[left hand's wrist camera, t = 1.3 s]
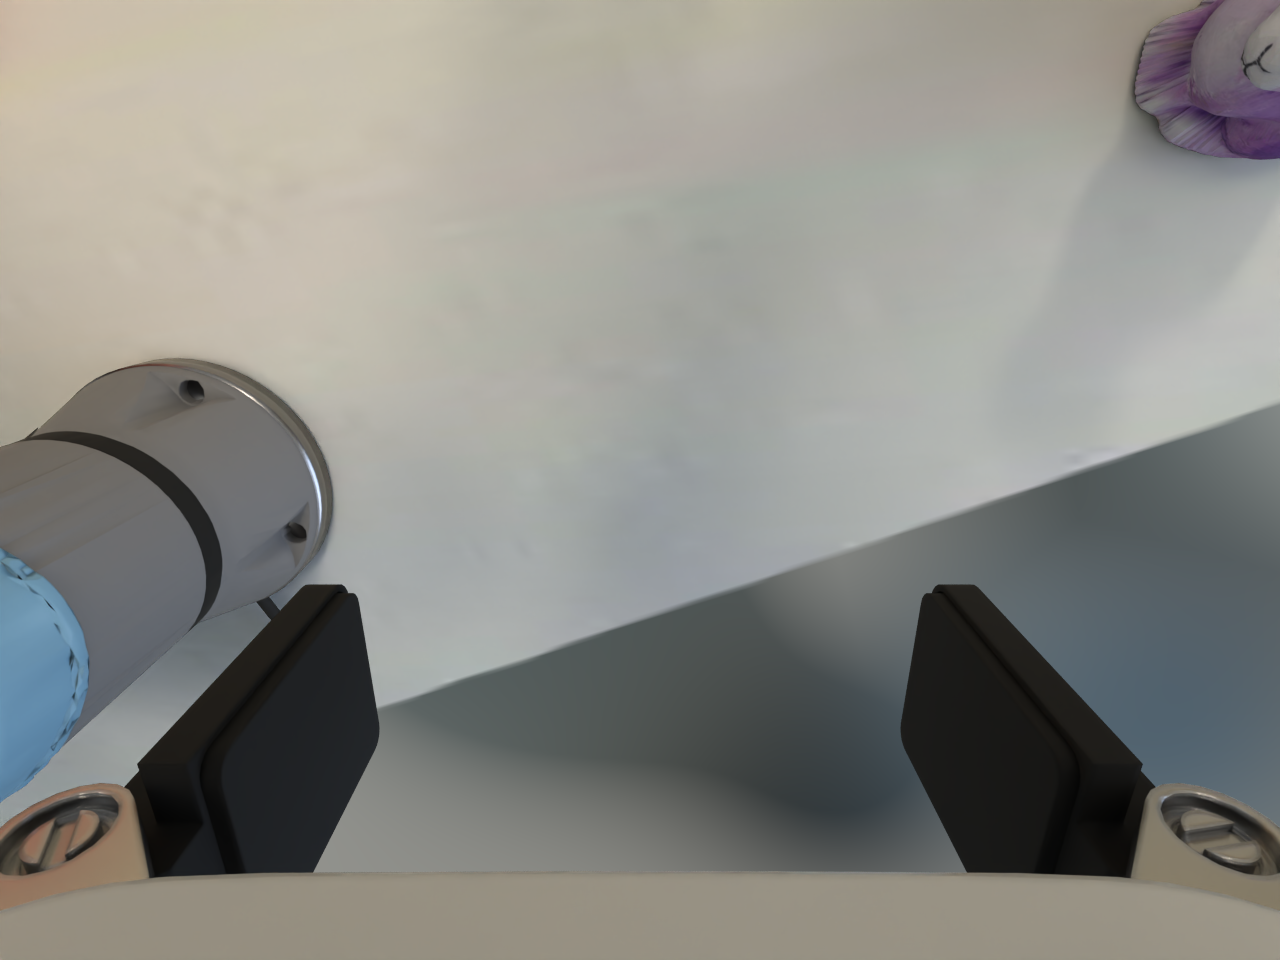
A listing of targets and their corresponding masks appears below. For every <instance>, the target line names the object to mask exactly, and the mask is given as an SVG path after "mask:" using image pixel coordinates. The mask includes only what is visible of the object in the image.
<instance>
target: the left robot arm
mask: <svg viewBox="0 0 1280 960" xmlns="http://www.w3.org/2000/svg"><path fill="white" fill-rule="evenodd" d="M378 738H379V720H378V714H377V708H376V702H375V696H374V690H373V684H372V678H371V673H370V667H369V661H368V655H367V649H366V643H365V637H364V631H363V625H362V619H361V613H360V607H359V602H358V598H357V596H356V595H355V594H354V593H348V591H347V590H346V588H345V586H343V585H305V586H303V587H302V588H301V589H300V590H299V591H298V592H297V593H296V594H295V596H294V597H293V598H292V599H291V600H290V601H289V602H288V603H287V604H286V605H285V606H284V607H283V608H282V609H281V611H280V612H279V613H278V614H277V615H276V616H275V617H274V618H273V619H272V620H271V621H270V622H269V623H268V624H267V626H266V627H265V628H264V629H263V630H262V631H261V632H260V633H259V634H258V635H257V636H256V637H255V638H254V639H253V641H252V642H251V643H250V644H249V645H248V646H247V647H246V648H245V649H244V650H243V651H242V652H241V653H240V654H239V656H238V657H237V658H236V659H235V660H234V661H233V662H232V663H231V664H230V665H229V666H228V667H227V668H226V669H225V671H224V672H223V673H222V674H221V675H220V676H219V677H218V678H217V679H216V680H215V681H214V682H213V683H212V684H211V685H210V687H209V688H208V689H207V690H206V691H205V692H204V693H203V694H202V695H201V696H200V697H199V698H198V699H197V700H196V702H195V703H194V704H193V705H192V706H191V707H190V708H189V709H188V710H187V711H186V712H185V713H184V714H183V715H182V717H181V718H180V719H179V720H178V721H177V722H176V723H175V724H174V725H173V726H172V727H171V728H170V729H169V730H168V732H167V733H166V734H165V735H164V736H163V737H162V738H161V739H160V740H159V741H158V742H157V743H156V744H155V745H154V747H153V748H152V749H151V750H150V751H149V752H148V753H147V754H146V755H145V756H144V757H143V758H142V759H141V760H140V762H139V763H138V764H137V765H138V768H139V772H138V773H137V774H136V775H135V776H134V777H133V778H132V779H131V780H130V781H129V783H128V784H127V785H126V786H125V787H122V786H120V785H118V784H105V783H99V784H92V785H85V786H79V787H76V788H73V789H70V790H67V791H64V792H61V793H57V794H55V795H53V796H51V797H49V798H46V799H44V800H42V801H40V802H38V803H36V804H34V805H32V806H30V807H29V808H27V809H26V810H24V811H22V812H21V813H19V814H18V815H16V816H15V817H13V818H11V819H10V820H9V821H8V822H6V823H5V824H4V825H3V826H2V827H1V828H0V960H1280V828H1279V827H1278V826H1277V825H1276V824H1275V823H1274V822H1272V821H1271V820H1270V819H1269V818H1267V817H1265V816H1264V815H1262V814H1261V813H1259V812H1258V811H1256V810H1254V809H1253V808H1251V807H1250V806H1248V805H1246V804H1244V803H1242V802H1240V801H1238V800H1236V799H1233V798H1231V797H1229V796H1227V795H1225V794H1223V793H1219V792H1216V791H1213V790H1210V789H1207V788H1204V787H1201V786H1195V785H1188V784H1181V783H1175V784H1162V785H1160V786H1158V787H1155V786H1154V785H1153V784H1152V783H1151V781H1150V780H1149V779H1148V778H1147V777H1146V776H1145V775H1144V774H1143V773H1142V772H1141V768H1142V765H1143V764H1142V763H1141V762H1140V760H1139V759H1138V758H1137V757H1136V756H1135V755H1134V754H1133V753H1132V752H1131V751H1130V750H1129V749H1128V748H1127V747H1126V745H1125V744H1124V743H1123V742H1122V741H1121V740H1120V739H1119V738H1118V737H1117V736H1116V735H1115V734H1114V733H1113V732H1112V730H1111V729H1110V728H1109V727H1108V726H1107V725H1106V724H1105V723H1104V722H1103V721H1102V720H1101V719H1100V718H1099V717H1098V715H1097V714H1096V713H1095V712H1094V711H1093V710H1092V709H1091V708H1090V707H1089V706H1088V705H1087V704H1086V703H1085V702H1084V700H1083V699H1082V698H1081V697H1080V696H1079V695H1078V694H1077V693H1076V692H1075V691H1074V690H1073V689H1072V688H1071V687H1070V686H1069V684H1068V683H1067V682H1066V681H1065V680H1064V679H1063V678H1062V677H1061V676H1060V675H1059V674H1058V673H1057V672H1056V671H1055V669H1054V668H1053V667H1052V666H1051V665H1050V664H1049V663H1048V662H1047V661H1046V660H1045V659H1044V658H1043V657H1042V656H1041V654H1040V653H1039V652H1038V651H1037V650H1036V649H1035V648H1034V647H1033V646H1032V645H1031V644H1030V643H1029V642H1028V641H1027V639H1026V638H1025V637H1024V636H1023V635H1022V634H1021V633H1020V632H1019V631H1018V630H1017V629H1016V628H1015V627H1014V626H1013V624H1012V623H1011V622H1010V621H1009V620H1008V619H1007V618H1006V617H1005V616H1004V615H1003V614H1002V613H1001V612H1000V611H999V609H998V608H997V607H996V606H995V605H994V604H993V603H992V602H991V601H990V600H989V599H988V598H987V597H986V596H985V594H984V593H983V592H982V591H981V590H980V589H979V588H978V587H977V586H975V585H937V586H935V588H934V590H933V591H932V593H926V594H925V595H924V596H923V598H922V602H921V607H920V613H919V619H918V625H917V631H916V637H915V643H914V649H913V655H912V661H911V667H910V672H909V679H908V684H907V690H906V696H905V702H904V708H903V714H902V720H901V738H902V743H903V746H904V749H905V751H906V753H907V755H908V757H909V759H910V761H911V763H912V765H913V767H914V769H915V771H916V772H917V775H918V776H919V778H920V780H921V782H922V784H923V786H924V788H925V790H926V792H927V794H928V796H929V798H930V800H931V802H932V804H933V806H934V808H935V810H936V812H937V814H938V816H939V818H940V820H941V822H942V824H943V826H944V828H945V830H946V832H947V834H948V836H949V838H950V840H951V842H952V844H953V846H954V848H955V850H956V852H957V854H958V856H959V858H960V860H961V862H962V863H963V865H964V867H965V869H966V871H967V873H931V872H768V871H767V872H765V871H514V872H513V871H512V872H348V873H313V871H314V869H315V867H316V866H317V864H318V862H319V860H320V858H321V856H322V854H323V852H324V850H325V848H326V846H327V844H328V842H329V840H330V838H331V836H332V834H333V832H334V830H335V828H336V826H337V824H338V822H339V820H340V818H341V816H342V814H343V812H344V810H345V808H346V806H347V804H348V802H349V800H350V798H351V796H352V794H353V792H354V790H355V788H356V786H357V784H358V782H359V780H360V778H361V776H362V775H363V773H364V771H365V768H366V767H367V765H368V763H369V761H370V759H371V757H372V755H373V753H374V751H375V748H376V746H377V743H378Z"/></svg>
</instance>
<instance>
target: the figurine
mask: <svg viewBox="0 0 1280 960" xmlns="http://www.w3.org/2000/svg"><path fill="white" fill-rule="evenodd" d="M1143 48H1144V50H1143V52H1142V57H1141V58H1140V60H1141V63H1140V64H1139V70H1138V71H1137V72H1138V75H1137V76H1136V82H1135V87H1136V89H1135V95H1136V102H1137V104H1138V105H1139V107H1140V108H1141V109H1142V110H1145V111H1146V112H1148V113H1149V114H1151V115H1153V116H1155V117H1156V118H1157V120H1158V123H1159V130H1160V132H1161V134H1162V135H1163V136H1164V137H1165V139H1166V140H1167V141H1168V142H1171V143H1173V144H1174V145H1177V146H1179V147H1183V148H1186V149H1187V150H1193V151H1196V152H1198V153H1201V154H1205V155H1213V156H1217V157H1230V158H1249V159H1259V160H1262V159H1277V158H1280V0H1203V1H1201V3H1200V5H1199V6H1198V7H1196V8H1195V9H1194V10H1190V11H1188V12H1184V13H1181V14H1178V15H1173V16H1171V17H1169V18H1167V19H1165V20H1164V21H1162V22H1161V23H1159V24H1158V25H1157V26H1155V27H1154V28H1153V29H1152V30H1151V31H1150V34H1149V36H1148V38H1147V39H1146V40H1145V45H1144V46H1143Z"/></svg>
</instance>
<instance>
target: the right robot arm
mask: <svg viewBox="0 0 1280 960" xmlns="http://www.w3.org/2000/svg"><path fill="white" fill-rule="evenodd" d="M37 429H38V428H37ZM37 429H36V430H34V431H33V432H32V433H31V434H30V435H29V436H27V437H26V438H25V439H23V440H20V441H18V442H15V443H12V444H9V445H5V446H2V447H0V803H1V802H2V801H3V800H4V799H5V798H7V797H8V796H10V795H12V794H13V793H15V792H16V791H18V790H20V789H21V788H23V787H24V786H26V785H27V784H28V783H29V782H30V781H31V780H32V779H33V778H34V775H36V774H37V773H38V772H39V771H40V770H41V769H43V768H44V767H45V766H46V765H47V764H48V762H49V760H50V759H51V757H53V756H54V755H55V754H56V753H57V752H58V751H59V750H60V748H61V747H62V746H64V745H65V744H66V743H67V742H68V741H69V740H70V739H71V738H72V737H73V736H74V735H76V734H77V733H78V732H79V731H80V730H81V729H82V728H83V727H84V726H85V725H87V724H88V723H89V722H90V721H91V720H92V719H93V718H94V717H95V716H96V715H98V714H99V713H100V712H101V711H102V710H103V709H104V708H105V707H106V706H107V705H108V704H110V703H111V702H112V701H113V700H114V699H115V698H116V697H117V696H118V695H119V694H121V693H122V692H123V691H124V690H125V689H126V688H127V687H128V686H129V685H130V684H131V683H133V682H134V681H135V680H136V679H137V678H138V677H139V676H140V675H141V674H142V673H144V672H145V671H146V670H147V669H148V668H149V667H150V666H151V665H152V664H153V663H155V662H156V661H157V660H158V659H159V658H160V657H161V656H162V655H163V654H164V653H165V652H167V651H168V650H169V649H170V648H171V647H172V646H173V645H174V644H175V643H176V642H178V641H179V640H180V639H181V638H182V637H183V636H184V635H185V634H186V633H187V632H188V631H189V630H191V629H192V628H193V627H194V626H195V625H196V624H197V623H199V622H202V621H204V620H207V619H210V618H213V617H215V616H218V615H221V614H223V613H226V612H229V611H232V610H234V609H237V608H240V607H242V606H245V605H248V604H251V603H254V602H257V603H258V604H259V606H260V607H261V608H262V609H263V611H264V612H265V613H266V614H267V616H268V617H269V618H270V619H271V620H272V619H273V618H274V617H275V616H276V615H277V614H278V613H279V612H280V610H279V609H278V608H277V606H276V605H275V604H274V603H273V601H272V600H271V599H270V598H269V596H271V595H272V594H274V593H276V592H278V591H279V590H280V589H282V588H283V587H285V586H286V585H287V584H288V583H289V582H291V581H292V580H293V579H294V578H295V577H296V576H297V575H298V574H299V573H300V572H301V571H302V570H303V569H304V568H305V567H306V566H307V565H308V563H309V562H310V561H311V560H312V559H313V558H314V556H315V555H316V554H317V552H318V551H319V549H320V547H321V545H322V543H323V542H324V539H325V537H326V534H327V532H328V528H329V524H330V520H331V513H332V490H331V484H330V478H329V474H328V471H327V467H326V464H325V461H324V459H323V456H322V454H321V452H320V450H319V448H318V446H317V444H316V442H315V440H314V439H313V437H312V436H311V434H310V432H309V431H308V429H307V428H306V427H305V425H304V424H303V423H302V421H301V420H300V419H299V418H298V417H297V416H296V414H295V413H294V412H293V411H292V410H291V409H290V408H289V407H288V406H287V405H286V404H285V403H284V402H283V401H282V400H280V399H279V398H278V397H277V396H276V395H274V394H273V393H272V392H271V391H269V390H268V389H266V388H265V387H263V386H262V385H260V384H259V383H257V382H255V381H254V380H252V379H250V378H248V377H247V376H244V375H242V374H240V373H238V372H236V371H234V370H231V369H228V368H226V367H223V366H220V365H216V364H213V363H209V362H204V361H199V360H193V359H181V358H174V359H159V360H152V361H148V362H143V363H139V364H136V365H132V366H128V367H125V368H121V369H118V370H115V371H112V372H109V373H107V374H104V375H102V376H100V377H98V378H96V379H95V380H93V381H92V382H90V383H88V384H87V385H86V386H84V387H83V388H82V389H81V390H80V391H78V392H77V393H76V394H75V396H74V397H73V398H72V399H71V400H70V401H68V402H67V403H66V404H65V405H64V406H63V407H62V408H61V409H60V410H59V411H58V412H57V413H56V414H54V415H53V416H52V417H51V418H50V419H49V420H48V421H47V422H46V423H45V424H44V425H43V426H41V427H40V428H39V429H38V430H37Z"/></svg>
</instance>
